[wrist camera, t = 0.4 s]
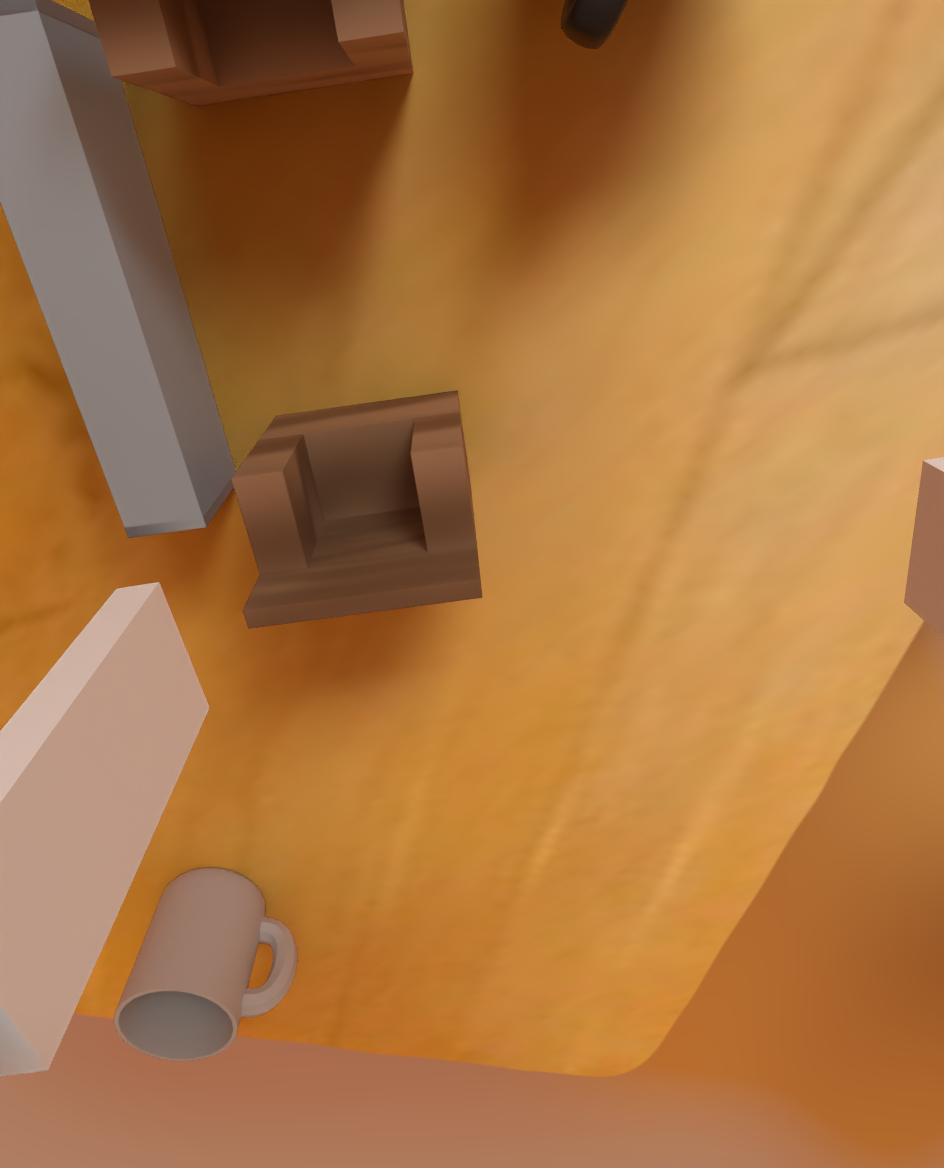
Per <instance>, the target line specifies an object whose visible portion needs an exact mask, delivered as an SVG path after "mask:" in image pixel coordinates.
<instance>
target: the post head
mask: <svg viewBox="0 0 944 1168" xmlns="http://www.w3.org/2000/svg"><path fill="white" fill-rule="evenodd" d="M89 3H90V6H91V9H92V13H93V16H94V19H95V23H96V26H97V30H98V33H99V36H100V40H101V43H102V46H103V50H104V53H105V56H106V60H107V63H108V66H109V70H110V73H111V77H114V78H117V79H120V80H122V81H125V82H128V83H131V84H134V85H137V86H140V87H143V88H146V89H149V90H152V91H154V92H157V93H160V94H163V95H166V96H169V97H172V98H175V99H178V100H181V101H184V102H186V103H189V104H192V105H195V106H200V105H207V104H213V103H220V102H227V101H233V100H240V99H246V98H253V97H259V96H266V95H273V94H279V93H286V92H292V91H299V90H305V89H312V88H318V87H325V86H332V85H338V84H345V83H351V82H358V81H364V80H371V79H378V78H384V77H391V76H397V75H404V74H410V73H413V67H412V60H411V53H410V46H409V39H408V31H407V24H406V17H405V10H404V3H403V0H89Z"/></svg>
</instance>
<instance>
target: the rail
mask: <svg viewBox="0 0 944 1168" xmlns="http://www.w3.org/2000/svg"><path fill="white" fill-rule="evenodd" d="M0 202H1V205H2V208H3V210H4V213H5V215H6V218H7V221H8V223H9V226H10V229H11V231H12V234H13V236H14V239H15V242H16V244H17V247H18V250H19V252H20V255H21V257H22V260H23V263H24V265H25V268H26V271H27V273H28V276H29V278H30V281H31V284H32V286H33V289H34V292H35V294H36V297H37V299H38V302H39V305H40V307H41V310H42V312H43V315H44V318H45V320H46V323H47V326H48V328H49V331H50V333H51V336H52V339H53V341H54V344H55V347H56V349H57V352H58V354H59V357H60V360H61V362H62V365H63V368H64V370H65V373H66V375H67V378H68V381H69V383H70V386H71V389H72V391H73V394H74V396H75V399H76V402H77V404H78V407H79V409H80V412H81V415H82V417H83V420H84V423H85V425H86V428H87V430H88V433H89V436H90V438H91V441H92V444H93V446H94V449H95V451H96V454H97V457H98V459H99V462H100V465H101V467H102V470H103V472H104V475H105V478H106V480H107V483H108V486H109V488H110V491H111V493H112V496H113V499H114V501H115V504H116V506H117V509H118V512H119V514H120V517H121V520H122V522H123V525H124V527H125V531H126V533H127V536H128V538H132V537H139V536H147V535H154V534H161V533H169V532H176V531H183V530H191V529H198V528H205V527H207V526H208V524H209V523H210V521H211V520H212V518H213V517H214V516H215V514H216V513H217V511H218V510H219V508H220V507H221V505H222V504H223V503H224V501H225V500H226V498H227V497H228V495H229V494H230V492H231V491H232V490H233V488H234V486H233V483H232V479H231V478H232V477H233V475H234V474H235V473H236V470H235V467H234V464H233V460H232V457H231V453H230V450H229V446H228V443H227V440H226V436H225V433H224V429H223V426H222V423H221V419H220V416H219V412H218V409H217V406H216V402H215V399H214V395H213V392H212V389H211V385H210V382H209V378H208V375H207V372H206V368H205V365H204V361H203V358H202V354H201V351H200V348H199V344H198V341H197V337H196V334H195V331H194V327H193V324H192V320H191V317H190V314H189V310H188V307H187V303H186V300H185V297H184V293H183V290H182V286H181V283H180V280H179V276H178V273H177V269H176V266H175V262H174V259H173V256H172V252H171V249H170V245H169V242H168V239H167V235H166V232H165V228H164V225H163V222H162V218H161V215H160V211H159V208H158V205H157V201H156V198H155V194H154V191H153V188H152V184H151V181H150V177H149V174H148V170H147V167H146V164H145V160H144V157H143V153H142V150H141V147H140V143H139V140H138V136H137V133H136V130H135V126H134V123H133V119H132V116H131V113H130V109H129V106H128V102H127V99H126V96H125V92H124V89H123V85H122V82H121V80H120V79H117V78H114V77H111V73H110V70H109V66H108V63H107V60H106V56H105V53H104V50H103V46H102V43H101V40H100V36H99V33H98V30H97V26H96V23H95V22H94V21H92V20H90V19H88V18H86V17H84V16H82V15H80V14H78V13H76V12H74V11H72V10H70V9H68V8H66V7H63V6H61V5H59V4H57V3H55V2H53V1H51V0H0Z"/></svg>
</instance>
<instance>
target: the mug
mask: <svg viewBox="0 0 944 1168" xmlns="http://www.w3.org/2000/svg"><path fill="white" fill-rule="evenodd" d="M627 1H628V0H566V1H565V5H564V8H563V12H562V17H561V29H562V30H563V32H564V33H565V35H566V36H567V37H568V38H570V39H571V40H572V41H574V42H575V43H577V44H579V45H581V46H583V47H585V48H591V49H597V48H599V47H600V46H601V45H602V44H603V43H604V42H605V41H606V40H607V39H608V37H609V36H610V34H611V33H612V31H613V29H614V27H615V26H616V24H617V22H618V20H619V18H620V16H621V14H622V12H623V10H624V7H625V5H626V3H627Z"/></svg>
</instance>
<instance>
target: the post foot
mask: <svg viewBox="0 0 944 1168" xmlns="http://www.w3.org/2000/svg"><path fill="white" fill-rule="evenodd" d="M231 479H232V483H233V486H234V489H235V493H236V496H237V499H238V503H239V506H240V510H241V513H242V516H243V520H244V523H245V526H246V530H247V533H248V536H249V540H250V543H251V546H252V550H253V553H254V557H255V560H256V563H257V567H258V570H259V573H260V575H259V577H258V579H257V581H256V584H255V586H254V588H253V590H252V592H251V594H250V596H249V598H248V601H247V603H246V605H245V607H244V609H243V613H244V616H245V619H246V622H247V625H248V629H249V628H257V627H264V626H272V625H279V624H287V623H294V622H302V621H309V620H317V619H324V618H332V617H340V616H347V615H355V614H362V613H370V612H377V611H385V610H392V609H400V608H407V607H415V606H423V605H430V604H438V603H445V602H453V601H460V600H468V599H475V598H482V590H481V580H480V571H479V561H478V551H477V542H476V532H475V522H474V513H473V503H472V493H471V484H470V477H469V470H468V463H467V456H466V448H465V441H464V434H463V427H462V420H461V412H460V405H459V398H458V391H451V392H444V393H437V394H429V395H422V396H415V397H408V398H401V399H394V400H387V401H380V402H372V403H365V404H358V405H351V406H344V407H337V408H330V409H323V410H315V411H308V412H301V413H294V414H287V415H280V416H276V417H275V419H274V420H273V421H272V423H271V424H270V426H269V427H268V428H267V430H266V431H265V432H264V434H263V435H262V437H261V438H260V439H259V441H258V442H257V444H256V445H255V446H254V448H253V449H252V450H251V452H250V453H249V455H248V456H247V457H246V459H245V460H244V462H243V463H242V464H241V466H240V467H239V468H238V470H237V471H236V473H235V474H234V475H233V477H232V478H231Z"/></svg>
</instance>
